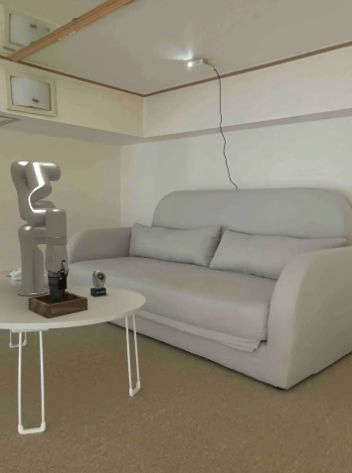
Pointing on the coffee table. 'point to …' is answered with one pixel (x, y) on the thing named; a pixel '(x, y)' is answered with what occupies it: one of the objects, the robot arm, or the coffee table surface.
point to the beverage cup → (55, 288)
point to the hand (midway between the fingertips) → (57, 287)
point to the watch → (98, 284)
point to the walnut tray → (58, 305)
